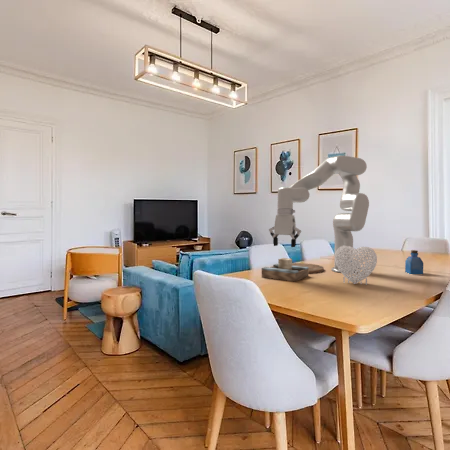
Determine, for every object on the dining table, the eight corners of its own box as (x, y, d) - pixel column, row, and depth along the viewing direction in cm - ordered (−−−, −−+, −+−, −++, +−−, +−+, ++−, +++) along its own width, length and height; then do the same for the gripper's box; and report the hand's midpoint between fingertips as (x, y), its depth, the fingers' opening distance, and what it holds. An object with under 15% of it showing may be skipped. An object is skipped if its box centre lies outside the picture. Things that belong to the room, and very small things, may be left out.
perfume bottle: (417, 272, 177) (417, 249, 176) (423, 274, 170) (423, 251, 170) (405, 272, 177) (405, 249, 177) (410, 274, 171) (410, 251, 170)
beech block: (291, 276, 168) (291, 258, 168) (287, 278, 164) (287, 260, 164) (283, 275, 171) (283, 258, 171) (278, 276, 167) (278, 259, 167)
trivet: (291, 264, 205) (291, 261, 205) (330, 269, 189) (330, 266, 189) (269, 270, 186) (269, 267, 186) (311, 276, 170) (311, 272, 170)
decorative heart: (331, 283, 152) (332, 246, 151) (337, 279, 161) (338, 244, 160) (374, 288, 142) (375, 248, 141) (378, 283, 151) (379, 246, 150)
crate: (308, 276, 169) (308, 267, 169) (294, 281, 156) (294, 271, 156) (276, 272, 180) (276, 263, 179) (261, 277, 167) (261, 268, 167)
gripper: (304, 212, 164) (303, 247, 165) (273, 212, 174) (272, 244, 175) (297, 212, 158) (297, 248, 159) (266, 212, 169) (265, 245, 169)
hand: (284, 246), depth 167 cm, fingers open, 9 cm apart
